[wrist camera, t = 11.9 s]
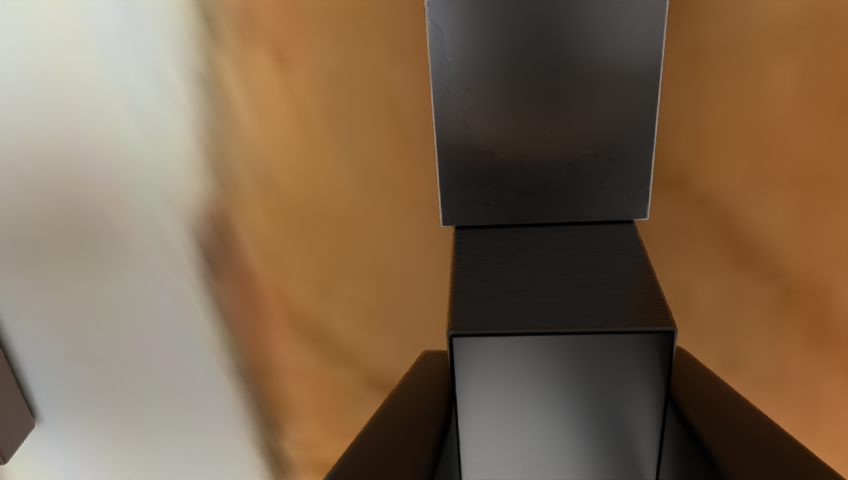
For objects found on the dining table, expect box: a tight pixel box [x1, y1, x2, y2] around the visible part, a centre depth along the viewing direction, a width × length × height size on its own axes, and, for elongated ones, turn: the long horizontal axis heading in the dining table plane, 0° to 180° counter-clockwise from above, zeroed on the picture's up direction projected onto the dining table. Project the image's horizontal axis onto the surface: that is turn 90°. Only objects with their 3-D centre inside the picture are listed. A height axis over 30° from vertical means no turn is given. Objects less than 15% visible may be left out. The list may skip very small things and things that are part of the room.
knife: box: [424, 0, 678, 480], centre depth 7 cm, size 21×2×2 cm, turn 4°
